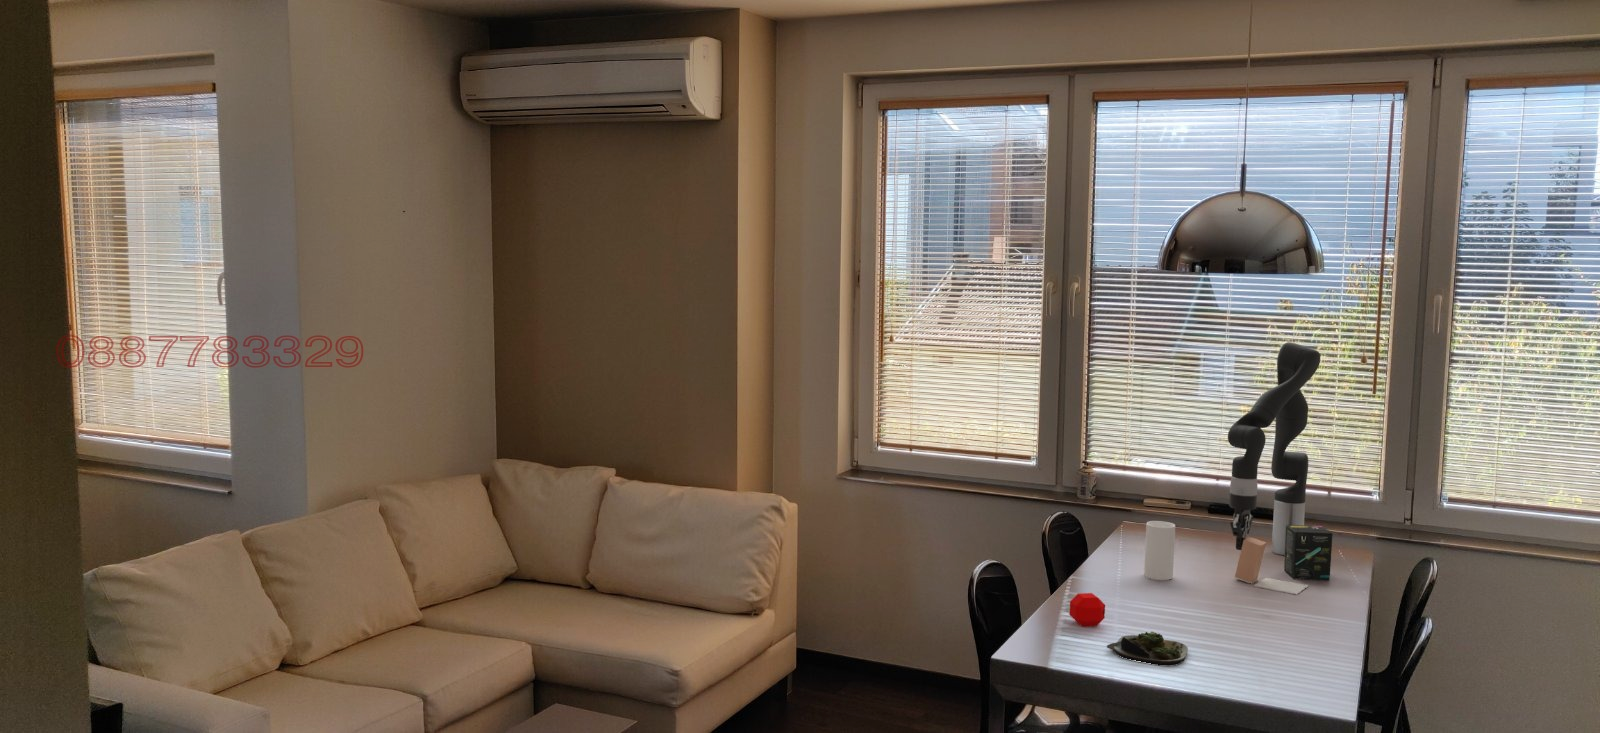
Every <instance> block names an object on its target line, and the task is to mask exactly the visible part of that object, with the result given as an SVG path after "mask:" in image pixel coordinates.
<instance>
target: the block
mask: <svg viewBox="0 0 1600 733" xmlns="http://www.w3.org/2000/svg"><path fill="white" fill-rule="evenodd" d="M1266 546H1267V542H1266V541H1263V540H1259V539H1257V538H1254V537H1251V536H1248V537H1245V539H1244V541H1243V545H1242V549H1241V550H1240V553H1239V554H1240V555H1239V557H1238V562H1237V566H1236V571H1235V574H1234V579H1237V580H1239V581H1242V582H1245V583H1248V584H1250V583H1251V585H1252V584H1253V583H1256V582H1257V581H1258V579H1259V578H1258V577H1259V573H1260V570H1261V566H1262V561H1263V557H1264V553H1265V549H1266ZM1256 580H1257V581H1256Z"/></svg>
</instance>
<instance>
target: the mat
mask: <svg viewBox="0 0 1600 733" xmlns="http://www.w3.org/2000/svg"><path fill="white" fill-rule="evenodd" d="M1253 587H1254V588H1258V589H1259V588H1260V589H1264V590H1270V591H1275V592H1280V593H1284V592H1285V594H1289V593H1290V594H1291V595H1294V594H1296V595H1295V596H1297V595H1298V593H1299V594H1300V593H1302V592H1303V591H1305V590H1306V589H1307V588H1309V585H1307V584H1302V583H1297V582H1291V581H1285V580H1280V579H1275V578H1270V577H1265V578H1264V579H1262V580H1260V581H1259V582H1257V583H1255V584H1254V585H1253ZM1305 588H1306V589H1305ZM1302 590H1303V591H1302ZM1301 591H1302V592H1301Z"/></svg>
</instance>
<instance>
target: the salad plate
mask: <svg viewBox="0 0 1600 733" xmlns="http://www.w3.org/2000/svg"><path fill="white" fill-rule="evenodd" d="M1106 648H1107V649H1110V650H1111V651H1113V652H1114V653H1115V654H1116V655H1117V656H1118V655H1119V656H1118V657H1120V656H1121V657H1120V658H1122V657H1123V658H1122V659H1124V658H1127V659H1131V660H1136V661H1141V662H1146V663H1151V664H1150V665H1152V664H1158V665H1157V666H1160V665H1173V666H1177V665H1179V664H1181V663H1183V662H1184V661H1185V660H1186V656H1187V654H1188V651H1189V648H1188V646H1187V645H1186V644H1184V643H1181V642H1179V641H1177V640H1176V641H1175V640H1168V639H1164V637H1163V635H1162V634H1160V633H1157V632H1154V631H1150V632H1148V631H1146V632H1144V633H1143V632H1141V633H1139V634H1137V635H1136V634H1129V635H1122V636H1121V637H1120V638H1119V639H1118V640H1117V641H1116V642H1112V643H1109V644H1107V645H1106ZM1127 659H1126V660H1127ZM1131 660H1130V661H1131ZM1136 661H1135V662H1136ZM1141 662H1140V663H1141ZM1146 663H1145V664H1146ZM1176 664H1177V665H1176Z"/></svg>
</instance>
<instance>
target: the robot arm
mask: <svg viewBox="0 0 1600 733" xmlns="http://www.w3.org/2000/svg"><path fill="white" fill-rule="evenodd" d="M1320 363H1321V353H1320V352H1319V351H1318V350H1317V349H1314V348H1312V347H1309V346H1305V345H1303V344H1302V345H1301V344H1299V343H1295V342H1290V341H1289V342H1285V343H1284V344H1282V345H1281V347H1280V349H1279V350H1278V355H1277V358H1276V374H1277V385H1276V386H1274V387H1272V388H1270V389H1268V390H1266V391H1264V393H1262V394H1261V395H1260V396H1259V398H1257V400H1256V402H1255V403H1254V404H1253V405H1252V407H1251V408H1250V410H1249V411H1248V412H1247V413H1245V414H1244V415H1242V417H1240V418H1239V419H1238V420H1237V421H1235V422H1234V423H1233V424H1232V425H1231V426H1230V428H1229V429H1228V433H1227V441H1228V443H1229V444H1230V445H1231V446H1232V447H1233V448H1238V449H1242V450H1245V453H1244V454H1243V455H1241V456H1236V457H1234V458H1233V460H1232V465H1231V479H1230V486H1229V503H1228V506H1229V507H1230V508H1231V509H1234V513H1233V515H1232V516H1233V518H1232V520H1231V521H1230V523H1229V524H1230V529H1231V532H1232V536H1233V537H1235V538H1236V539H1235V550H1238V551H1241V549H1242V545H1243V541H1244V539H1246V538H1248V537H1247V536H1248V535H1249V533H1250V530H1251V528H1252V524H1253V520H1254V516H1253V515H1252V514H1251V511H1253V510H1254V511H1255V510H1256V509H1257V503H1258V502H1257V500H1258V466H1259V463H1260V459H1261V456H1262V455H1263V454H1262V453H1263V451H1264V448H1265V445H1266V434H1265V432H1264V430H1263V429H1265V428H1268V427H1270V426H1271V424H1272V423H1273V422H1274V421H1275V429H1274V430H1275V432H1274V433H1275V435H1274V444H1273V450H1272V451H1273V452H1272V458H1271V466H1270V469H1271V475H1272V477H1273V478H1274V479H1277V480H1283V481H1284V480H1285V481H1295V483H1294V484H1292V485H1290V486H1288V487H1285V488H1280V489H1276V491H1275V492H1274V502H1273V521H1272V522H1273V523H1272V536H1271V537H1272V538H1271V552H1272V553H1274V554H1276V555H1281V556H1285V537H1286V525H1297V526H1305V516H1306V514H1305V511H1306V492H1307V490H1306V489H1307V479H1308V472H1309V457H1308V454H1307V453H1305V452H1299V451H1286V450H1287V448H1288V447H1289V445H1290V444H1291V443H1292V442H1293V441H1294V440H1295V439H1296V438H1297V437H1298V436H1299V435H1301V433H1302V432H1304V430H1305V428H1306V427H1307V425H1308V420H1309V404H1308V401H1307V400H1306V397H1305V396H1304V394H1303V392H1302V390H1301V389H1302V388H1303V386H1305V384H1306V383H1307V382H1308V381H1309V380H1310V379H1311V378H1312V377H1313V376H1314V375H1315V373H1316V372H1317V371H1318V368H1319V366H1320Z"/></svg>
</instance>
